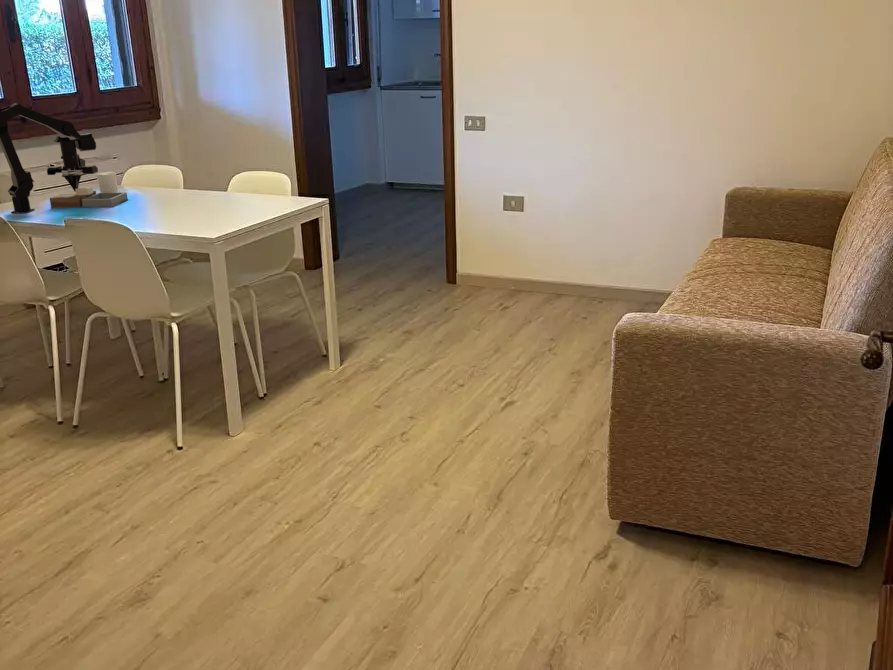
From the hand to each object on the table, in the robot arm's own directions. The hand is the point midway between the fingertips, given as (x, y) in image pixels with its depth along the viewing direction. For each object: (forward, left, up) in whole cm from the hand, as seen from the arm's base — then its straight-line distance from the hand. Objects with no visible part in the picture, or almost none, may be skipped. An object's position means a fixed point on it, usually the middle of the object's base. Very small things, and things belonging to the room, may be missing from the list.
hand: (76, 191), depth 340 cm
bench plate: (0, +1, -5) cm, 5 cm away
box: (0, -12, -5) cm, 13 cm away
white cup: (+16, -7, -5) cm, 18 cm away
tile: (0, -4, -1) cm, 4 cm away
